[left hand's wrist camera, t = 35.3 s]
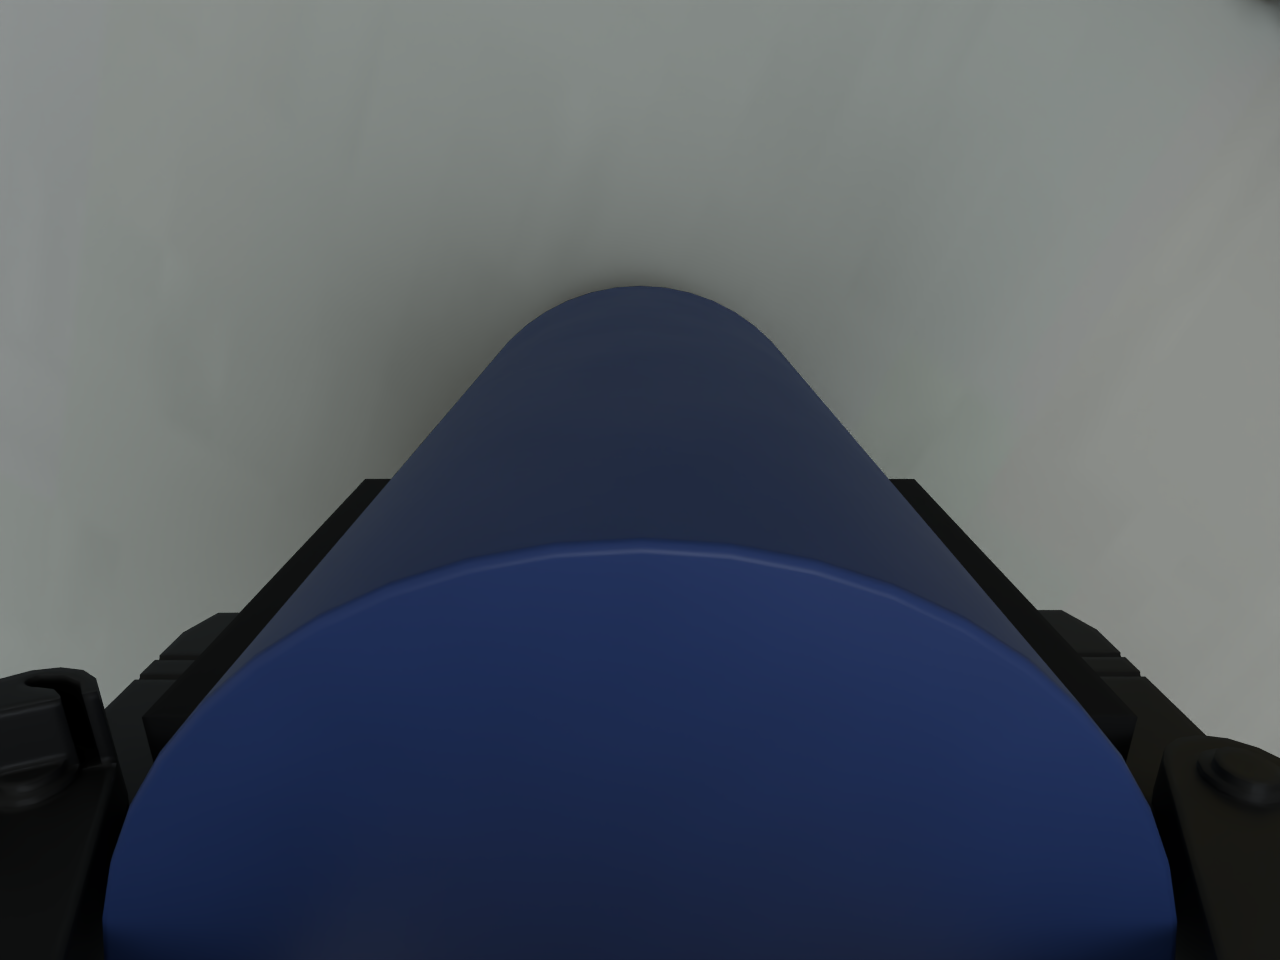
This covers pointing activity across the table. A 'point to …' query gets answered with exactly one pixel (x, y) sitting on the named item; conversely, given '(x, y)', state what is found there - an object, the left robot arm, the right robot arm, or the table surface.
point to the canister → (639, 703)
